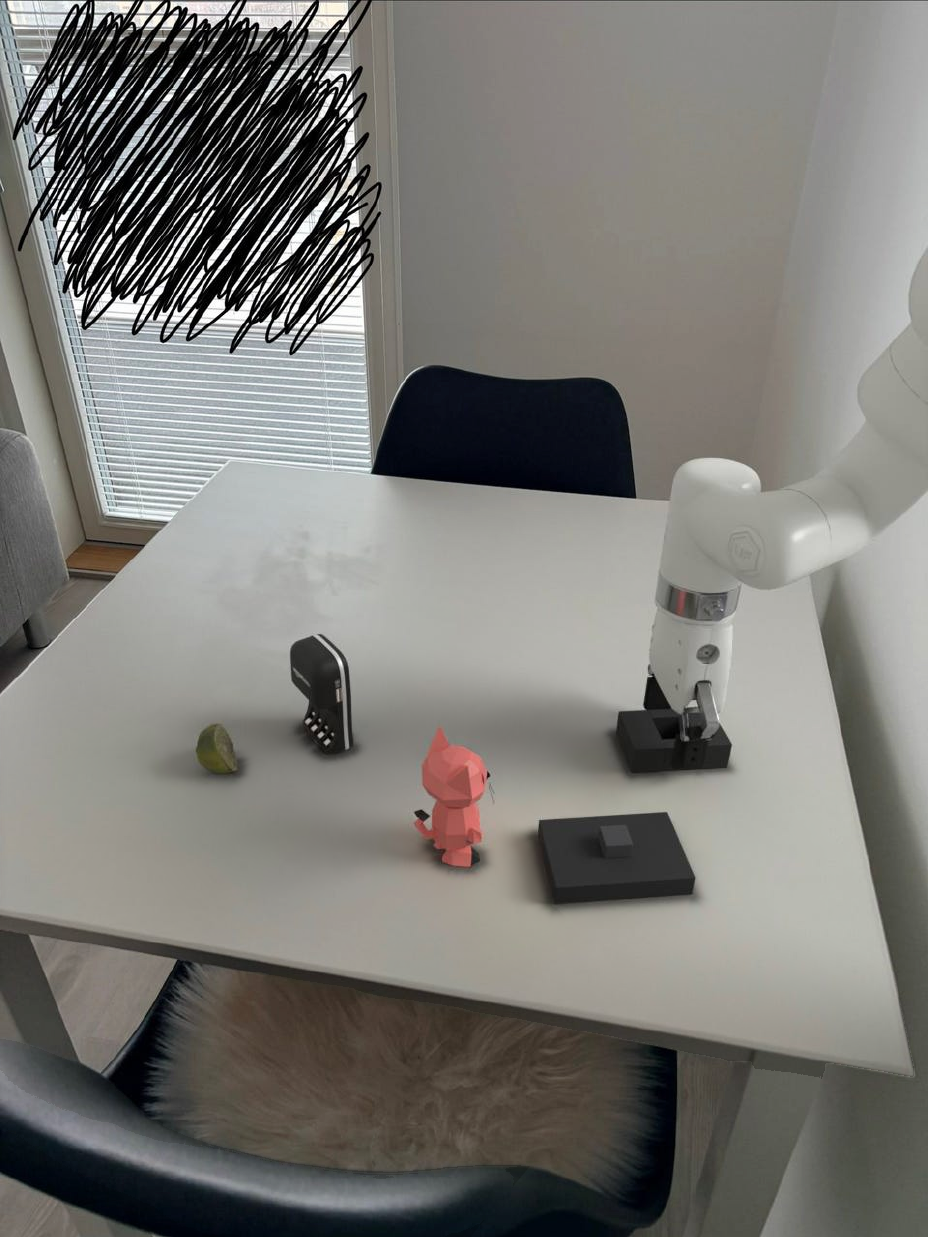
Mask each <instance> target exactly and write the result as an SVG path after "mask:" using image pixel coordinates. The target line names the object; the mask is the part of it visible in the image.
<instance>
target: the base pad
mask: <svg viewBox="0 0 928 1237" xmlns="http://www.w3.org/2000/svg"><path fill="white" fill-rule="evenodd" d="M537 838H538V843H539V846H540V847H539V848H540V851H541V856H542V859H543V864H544V867H545V871H546V875H547V879H548V883H549V884H548V885H549V887H550V891H551V895H552V896H551V897H552V901H553V904H555V905H559V904H573V903H584V902H585V903H586V902H599V901H611V900H612V901H613V900H614V901H615V900H627V899H628V900H629V899H641V898H642V899H643V898H655V897H656V898H657V897H667V896H669V897H670V896H671V897H672V896H684V895H693V892H694V887H695V884H696V883H695V882H696V875H695V873H694V870H693V869H692V866H691V863H690V861H689V859H688V857H687V855H686V852H685V850H684V848H683V845H682V842H681V841H680V838H679V836H678V833H677V831H676V829H675V827H674V824H673V822H672V820H671V818H670V815H669V813H668V811H661V812H659V811H658V812H645V813H630V814H629V813H628V814H627V813H626V814H613V815H611V814H610V815H597V816H581V817H561V818H548V819H539V820H538V829H537Z"/></svg>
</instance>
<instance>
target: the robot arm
mask: <svg viewBox="0 0 928 1237" xmlns="http://www.w3.org/2000/svg"><path fill="white" fill-rule="evenodd" d="M907 295H908V313H909V317H910V323H908V325H907V326H906V327H905V328H904V329H903V330H902V331H901V333H900V334H899V335H898V336H897V337H896V338H894V339H893V340H892V342H891V343H890V344H889V345H888V346H887V347H886V348H885V350H883V351H882V352H881V354H879V356H878V357H876V359H875V360H874V361H873V362H872V363H871V364H870V365H869V366H868V367H867V369H866V370H865V371H864V372H863V374H862V375H861V377H860V379H859V382H858V385H857V402H858V405H859V408H860V410H861V412H862V414H863V416H864V418H865V422H864V423H863V424H862V426H861V428H860V429H859V430H858V432H857V433H855V435H854V436H853V437H852V438H851V440H850V441H848V443H847V444H846V445H845V446H843V448H842V449H841V450H840V451H839V452H838V453H837V454H836V455H835V456H834V457H832V459H831V460H830V461H829V462H828V463H827V464H826V465H825V466H824V467H823V468H822V469H821V470H820V471H818V472H817V473H816V474H814V476H812V477H810V478H807V479H803V480H800V481H797V482H795V483H792V484H790V485H787V486H784V487H781V488H778V489H775V490H770V491H769V490H768V491H761V490H762V483H761V480H760V479H761V478H760V477H759V475H758V474H757V472H756V471H755V470H754V469H752V468H751V467H750V466H748V465H747V464H744V463H742V462H739V461H736V460H732V459H727V458H720V457H700V458H695V459H694V458H693V459H691V460H688V461H686V462H684V463H683V464H681V465H680V466H679V467H678V468H677V470H676V472H675V474H674V476H673V479H672V483H671V490H670V496H669V502H668V509H667V516H666V523H665V528H664V536H663V541H662V542H663V543H662V547H661V556H660V562H659V569H658V577H657V583H656V589H655V595H654V604H655V606H656V611H655V616H654V619H653V620H654V621H653V624H652V626H651V637H650V643H649V649H648V650H649V652H648V654H649V655H648V659H649V664H648V665H647V675H648V676H647V677H646V682H645V683H646V684H645V690H644V697H643V703H642V706H643V708H644V710H658V709H673V710H674V711H675V712H677V713H678V716H679V728H680V734H677V735H676V737H675V742H674V748H673V753H672V759H671V766H672V768H673V769H674V770H673V771H679V770H678V769H689V770H697V769H696V768H702V767H703V766H704V761H705V757H706V752H707V747H708V742H709V740H711V739H712V738H714V735H715V733H716V731H717V730H718V728H719V726H720V724H721V723H720V722H721V721H720V718H719V713H722V711H723V709H724V706H725V701H726V696H727V689H728V683H729V676H730V672H731V671H730V670H731V664H732V663H731V662H732V653H733V652H732V651H733V631H734V630H733V629H734V628H733V620H732V619H733V618H734V617H735V616H736V613H737V609H738V604H739V599H740V594H741V589H742V584H744V585H746V586H748V587H751V588H753V589H757V590H761V591H763V590H764V591H771V590H772V591H773V590H777V589H780V588H784V587H786V586H788V585H791V584H793V583H795V582H797V581H799V580H802V579H804V578H807V577H808V576H810V575H813V574H814V573H816V572H818V571H820V570H822V569H825V568H827V567H830V566H832V565H833V564H835V563H838V562H840V561H843V560H845V559H847V558H850V557H852V556H853V555H855V554H856V553H858V552H859V551H861V550H862V549H864V548H865V547H867V546H868V545H869V544H870V543H872V542H874V540H876V538H878V537H879V536H881V535H882V533H883V532H885V531H886V530H887V529H888V528H889V527H890V526H892V525H893V524H894V523H895V522H896V521H898V520H899V519H900V518H901V517H902V516H904V515H905V514H906V513H907V512H908V511H909V510H910V509H912V507H914V506H915V505H916V504H917V503H919V501H920V500H921V499H922V498H923V497H924V496H926V495H927V493H928V246H927V247H926V248H925V250H924V252H923V254H922V255H921V257H920V259H919V260H918V262H917V263H916V266H915V269H914V271H913V274H912V276H911V279H910V285H909V289H908V294H907ZM692 701H696V704H697V706H690V707H689V705H690V703H691V702H692ZM688 714H700V722H699V725H698V726H693V727H691V728H689V723H688Z"/></svg>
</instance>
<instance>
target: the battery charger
mask: <svg viewBox="0 0 928 1237" xmlns="http://www.w3.org/2000/svg"><path fill="white" fill-rule="evenodd" d="M289 649H290V650H289V664H290V665H289V667H290V679H291V682H292V684H293V685H294V686H295V687H296V689H298V691H300V693H301V694H302V695H303V696H304V697H305V698H306V699H307V700H308V706H307V710H306V712H305V715H304V718H303V720H302V723H301V724H302V728H303V730H304V731H305V733H306V734H307V735H308V736H309V737H310V738H311V739H312V740H313V742H314V743H315V744H316V745H317V746H318V747H319V749H320V750H322V751H323V752H324V753H326V754H335V753H339V752H342V751H344V750H345V751H347V750H349V749H350V748H352V747H353V746H354V735H353V721H352V720H353V719H352V694H351V693H352V692H351V691H352V690H351V680H350V669H349V663H348V660H347V658H346V656H345V654H344V653H343V652H342V651H341V650H340V649H339V648H338V647H337V646H336V645H335V644H334V643H333V642H332V641H331V640H329V638H328V637H326V636H325V635H324V634H322V633H314V634H311V635H310V636H307V637H304V638H301V639H299V640H296V641H295V642H294V643H293V644H292V645H291V646H290V648H289Z"/></svg>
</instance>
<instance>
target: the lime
mask: <svg viewBox="0 0 928 1237" xmlns="http://www.w3.org/2000/svg"><path fill="white" fill-rule="evenodd" d="M195 753H196V758H197V760H198V763H199V764H200V766H201V767H202V768H203V769H205V770H207V771H209V772H213V773H216V774H231V773H234V772H236V771H237V770H238V760H237V755H236V752H235V749H234V744H233V741H232V738H231V736H230V734H229V732H228V731H227V730H226V728H225V727H224V726H223V725H222V724H221V723H211V724H209V725H207V726H206V727H205V728H204V729H203V730H202V731H201V732H200V734H199V736H198V739H197V744H196V748H195Z"/></svg>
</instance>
